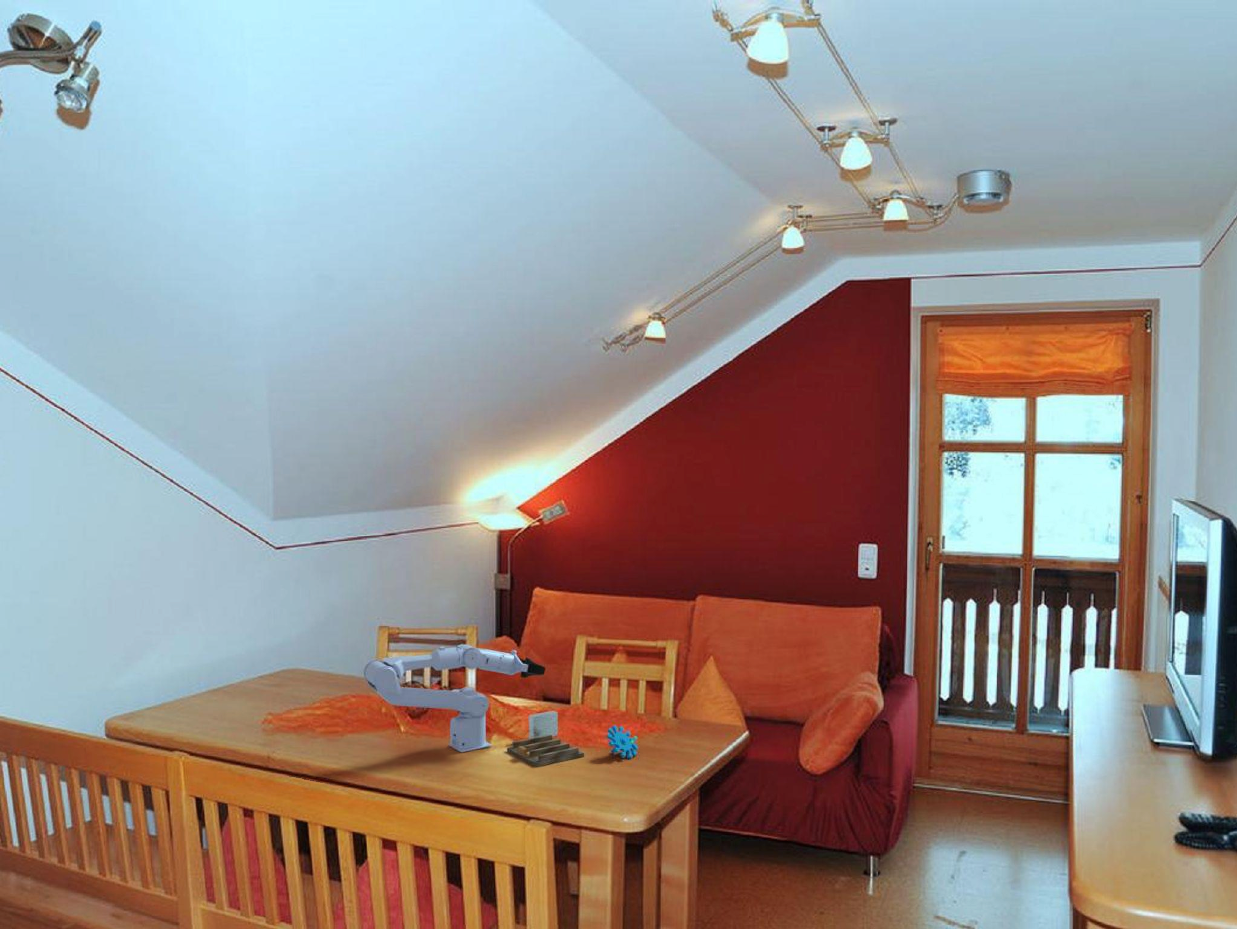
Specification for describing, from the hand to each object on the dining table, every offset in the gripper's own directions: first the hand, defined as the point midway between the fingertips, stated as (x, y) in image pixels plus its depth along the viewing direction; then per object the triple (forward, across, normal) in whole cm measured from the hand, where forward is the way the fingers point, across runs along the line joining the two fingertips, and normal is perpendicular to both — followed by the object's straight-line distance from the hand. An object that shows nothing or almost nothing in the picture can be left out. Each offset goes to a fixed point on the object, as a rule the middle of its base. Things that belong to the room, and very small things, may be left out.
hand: (538, 668), depth 300 cm
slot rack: (-1, -16, +21) cm, 27 cm away
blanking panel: (+5, -3, +19) cm, 20 cm away
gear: (+16, -28, +17) cm, 37 cm away
